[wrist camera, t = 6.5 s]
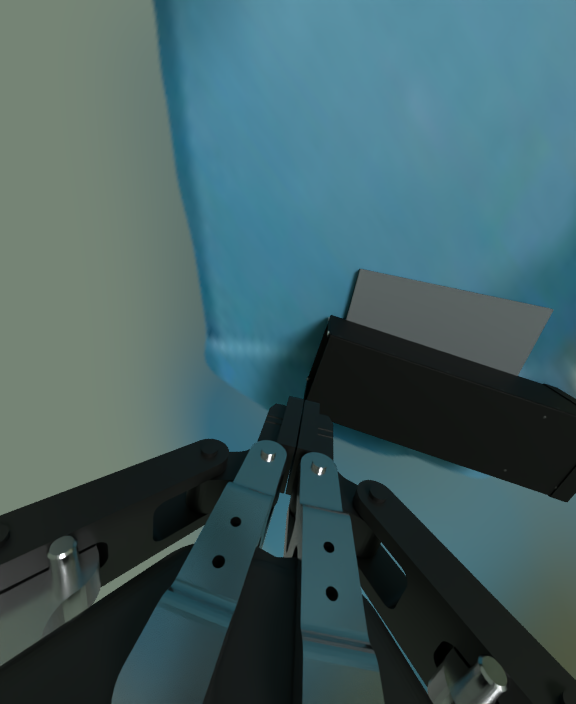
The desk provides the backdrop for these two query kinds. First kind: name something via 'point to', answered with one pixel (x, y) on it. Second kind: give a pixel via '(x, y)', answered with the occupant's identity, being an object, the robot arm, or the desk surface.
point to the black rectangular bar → (446, 407)
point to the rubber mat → (449, 319)
